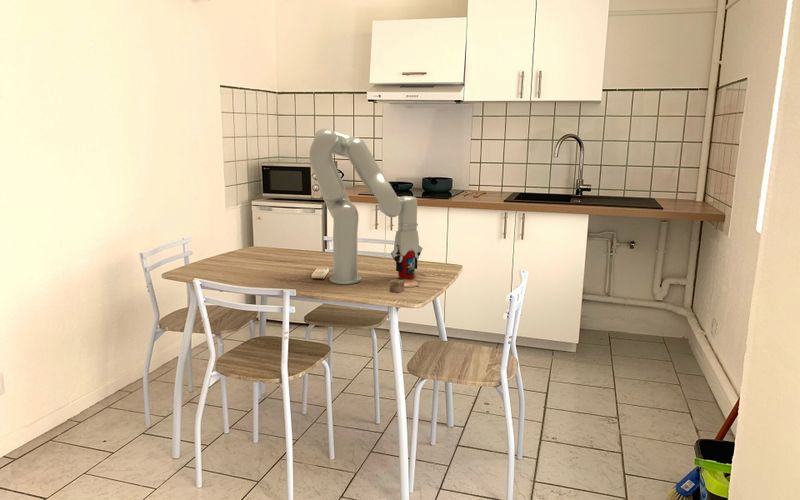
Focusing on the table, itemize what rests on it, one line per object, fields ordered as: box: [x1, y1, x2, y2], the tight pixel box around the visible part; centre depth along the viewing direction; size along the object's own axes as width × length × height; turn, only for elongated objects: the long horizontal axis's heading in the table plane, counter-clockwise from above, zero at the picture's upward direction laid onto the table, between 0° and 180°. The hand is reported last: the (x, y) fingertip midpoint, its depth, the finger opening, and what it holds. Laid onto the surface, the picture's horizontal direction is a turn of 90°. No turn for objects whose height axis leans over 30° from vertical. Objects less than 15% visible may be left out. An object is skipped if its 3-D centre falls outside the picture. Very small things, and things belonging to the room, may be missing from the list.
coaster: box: [402, 279, 419, 289], centre depth 232 cm, size 10×10×1 cm
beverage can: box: [397, 250, 416, 280], centre depth 241 cm, size 7×7×12 cm
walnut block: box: [389, 278, 405, 294], centre depth 223 cm, size 4×4×4 cm
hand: (406, 269), depth 241 cm, fingers open, 7 cm apart
